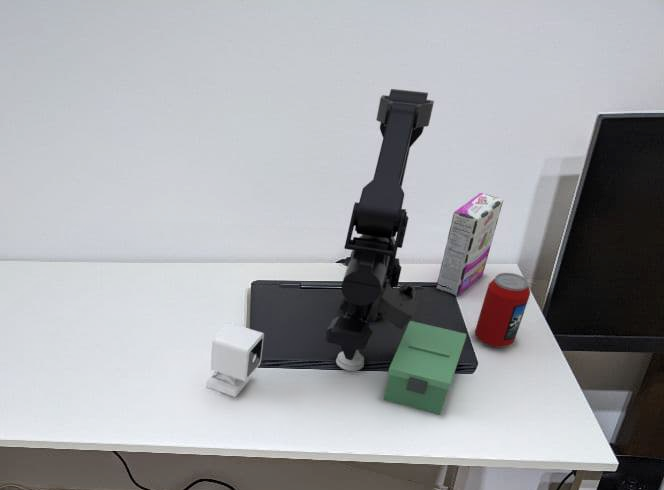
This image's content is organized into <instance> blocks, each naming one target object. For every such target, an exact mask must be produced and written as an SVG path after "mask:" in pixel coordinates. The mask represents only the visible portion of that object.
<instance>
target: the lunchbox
mask: <svg viewBox="0 0 664 490" xmlns="http://www.w3.org/2000/svg"><path fill="white" fill-rule="evenodd" d="M467 336H468V333H464V332H460V331H456V330H451V329H448V328H443V327H439V326H435V325H430V324H427V323H422V322H417V321H413V320H409V322H408V323H407V325H406V328H405V331H404V333H403V334H402V338H401V340H400V342H399V344H398V346H397V349H396V351H395V354H394V356H393V358H392V360H391V362H390V365H389V367H388V371H387V375H388V378H387V382H386V387H385V391H384V395H383V401H386V402H389V403H390V402H391V403H393V404H398V405H402V406H405V407H409V408H412V409H417V410H419V411H420V410H421V411H425V412H427V413H432V414H434V415H435V414H436V415H439V416H440V415H442V411H443V408H444V405H445V402H446V399H447V396H448V393H449V390H450V387H451V386H452V385H451V384H452V381H453V378H454V375H455V372H456V370H457V366H458V363H459V360H460V357H461V354H462V351H463V348H464V346H465V342H466V339H467Z"/></svg>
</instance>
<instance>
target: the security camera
mask: <svg viewBox="0 0 664 490" xmlns="http://www.w3.org/2000/svg"><path fill="white" fill-rule="evenodd" d="M264 341H265V333H264V332H262V331H259V330H258V331H257V330H255V329H252V328H249V327H245V326H242V325H239V324H236V323H232V322H228V323H227V324H226V325H225V326H224V327H223V328H222V329H221V330H220V331H219V332H218V333H217V334H216V335H215V336H214V338H213V340H212V343H211V344H212V345H211V355H210V356H211V357H210V371H213V372H214V373H213V372H212V373H211V374H210V375H209V377H208V378H207V379H206V382H205V383H206V384H205V386H206V388H208V389H211V390H214V391H216V392H219V393H222V394H225V395H228V396H231V397H237V396H238V395H239V393H241V391H242V390H243V389H244V387H246V385H247V384H248V383H249V382H250V379H251V376H252V375H253V374H254V373H255V372H256V370H257V369H258V368H259V367H260V365H261V363H262V357H263V348H264Z"/></svg>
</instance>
